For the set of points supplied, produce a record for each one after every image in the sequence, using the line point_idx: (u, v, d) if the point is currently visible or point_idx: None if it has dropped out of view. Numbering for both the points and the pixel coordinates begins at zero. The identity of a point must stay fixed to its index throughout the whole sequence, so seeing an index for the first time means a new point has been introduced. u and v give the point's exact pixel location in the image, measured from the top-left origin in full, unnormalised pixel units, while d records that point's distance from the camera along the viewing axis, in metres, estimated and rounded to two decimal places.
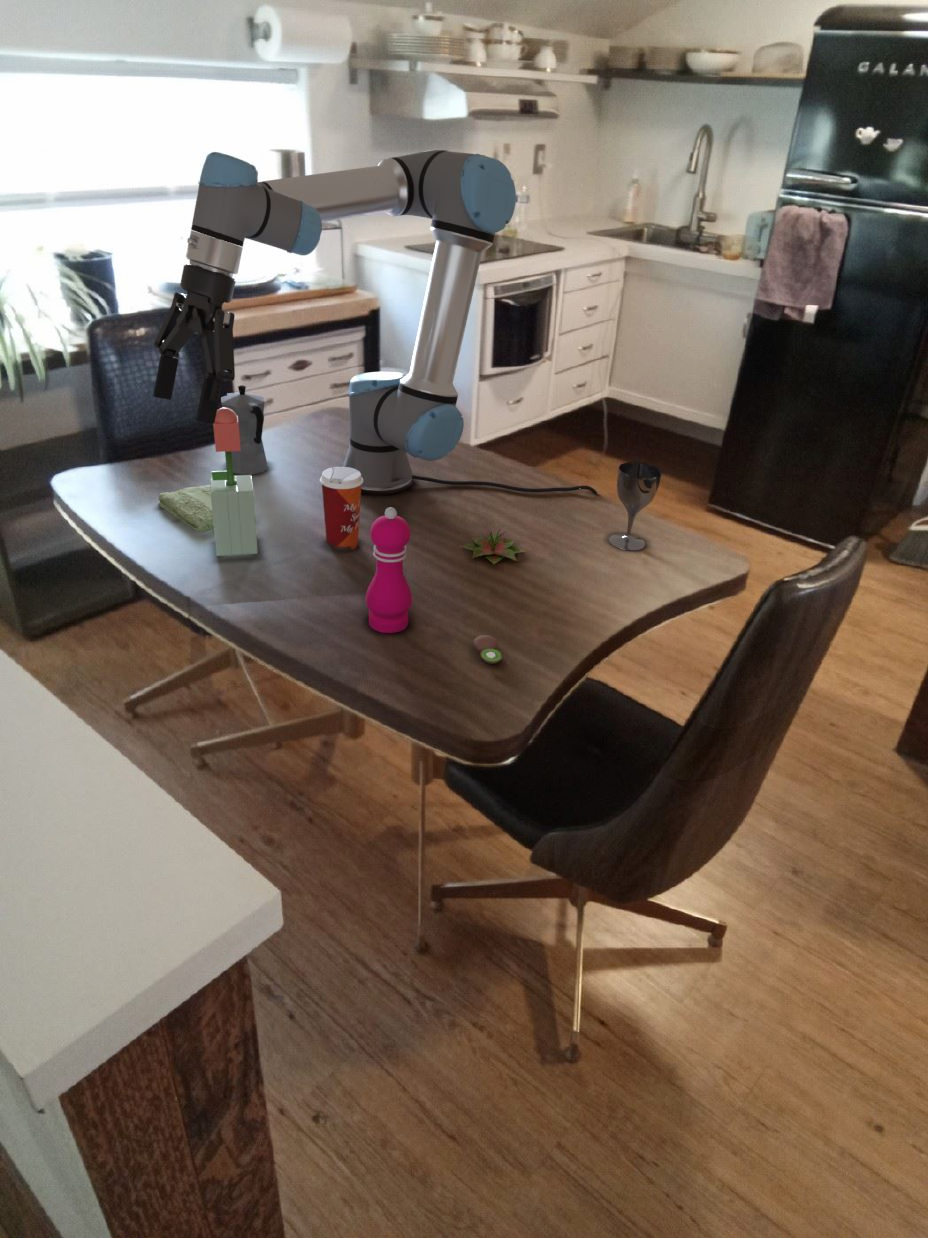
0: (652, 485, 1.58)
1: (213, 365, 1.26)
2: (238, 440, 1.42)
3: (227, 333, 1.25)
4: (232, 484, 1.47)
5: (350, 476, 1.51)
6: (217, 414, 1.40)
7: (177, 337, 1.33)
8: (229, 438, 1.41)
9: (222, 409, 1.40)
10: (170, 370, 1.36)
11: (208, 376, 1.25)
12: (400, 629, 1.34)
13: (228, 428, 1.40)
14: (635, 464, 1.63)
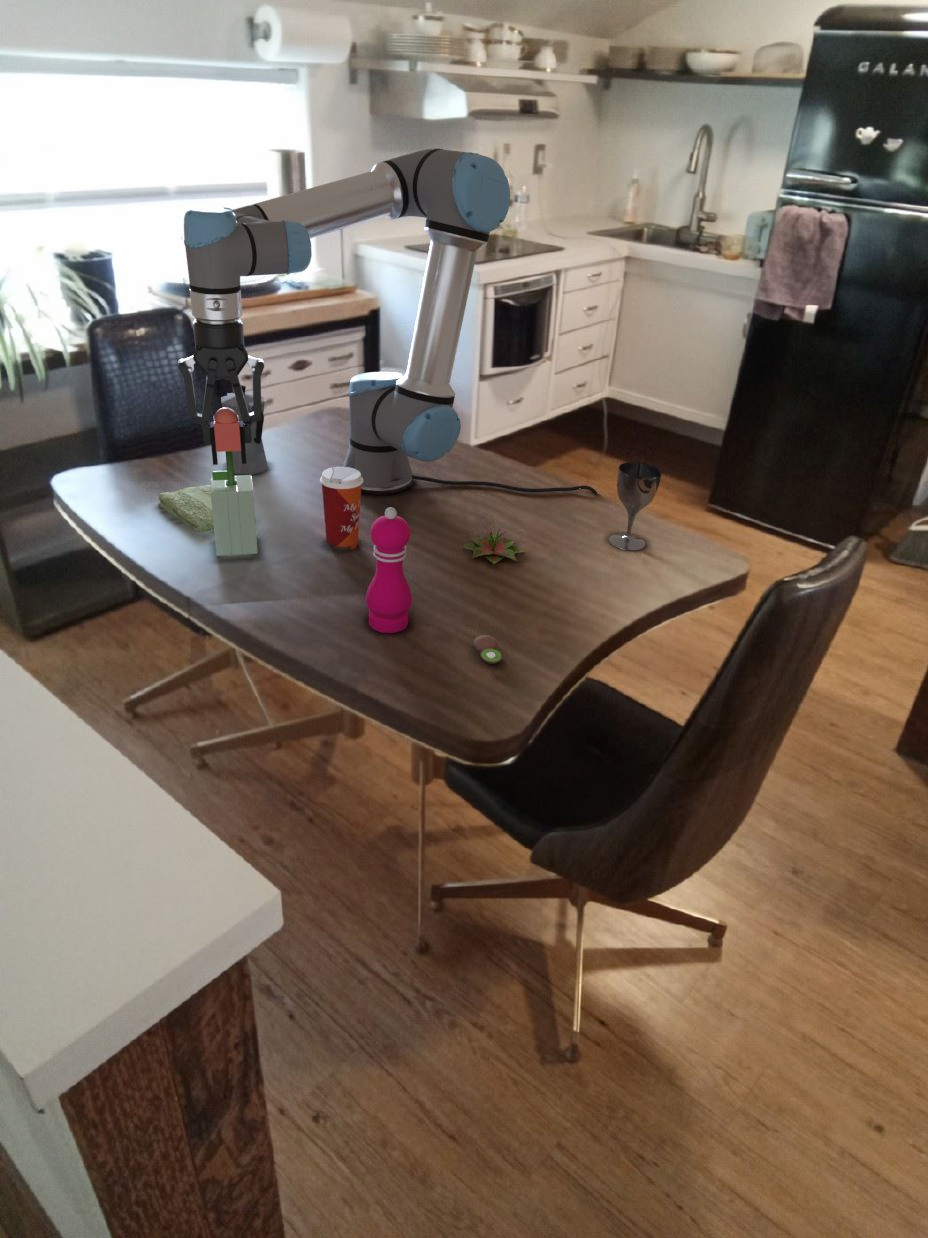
0: (652, 485, 1.58)
1: (248, 413, 1.41)
2: (239, 440, 1.42)
3: None
4: (232, 484, 1.47)
5: (350, 476, 1.51)
6: (218, 414, 1.40)
7: (212, 397, 1.38)
8: (230, 438, 1.41)
9: (223, 409, 1.40)
10: None
11: (249, 425, 1.41)
12: (400, 629, 1.34)
13: (229, 428, 1.40)
14: (635, 464, 1.63)
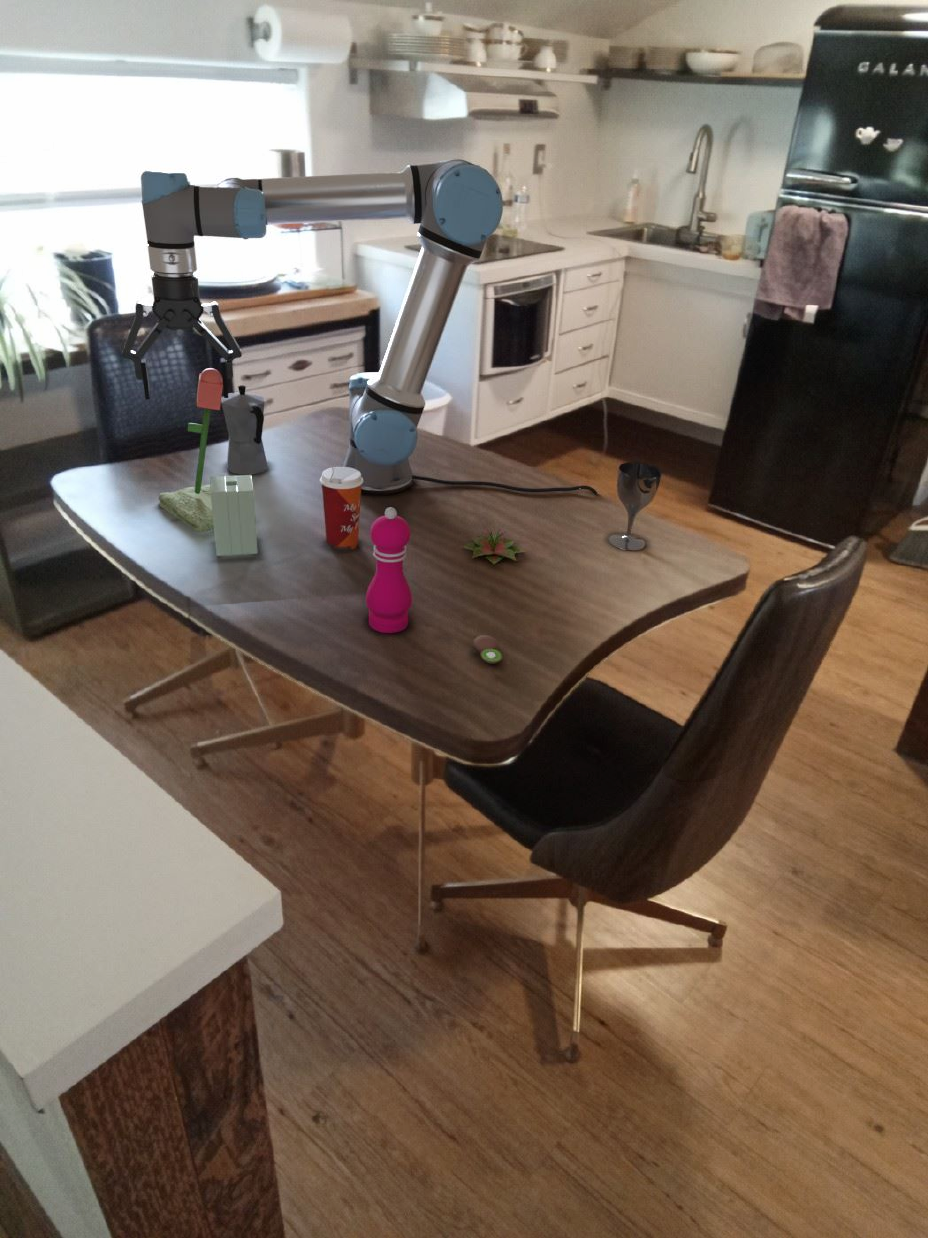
0: (652, 485, 1.58)
1: (225, 349, 1.53)
2: (219, 400, 1.54)
3: None
4: (205, 438, 1.59)
5: (350, 476, 1.51)
6: (205, 373, 1.52)
7: None
8: (211, 397, 1.54)
9: (210, 369, 1.52)
10: (147, 371, 1.52)
11: (231, 360, 1.53)
12: (400, 629, 1.34)
13: (212, 388, 1.53)
14: (635, 464, 1.63)
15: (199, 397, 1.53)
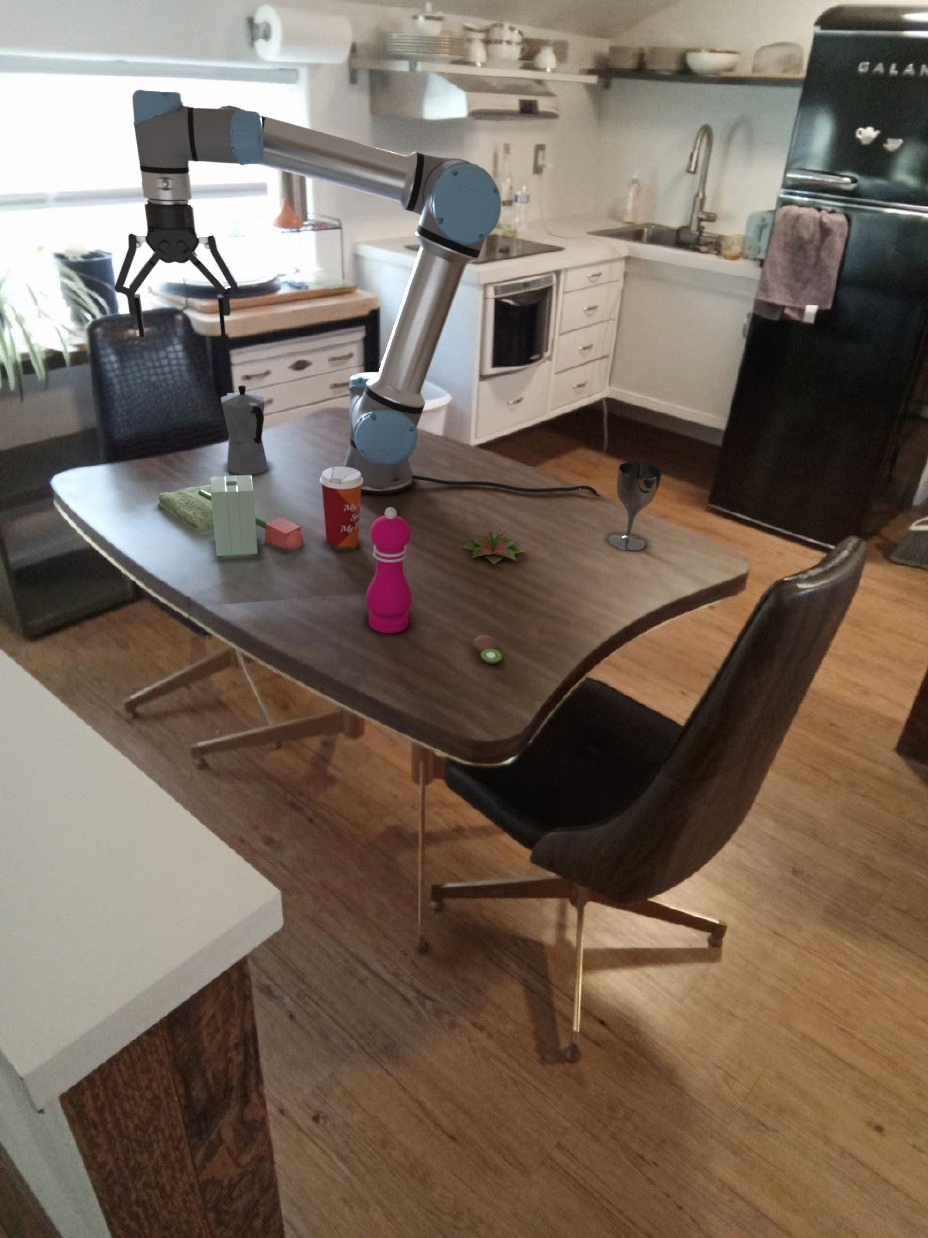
0: (652, 485, 1.58)
1: (222, 284, 1.47)
2: None
3: (219, 252, 1.46)
4: None
5: (350, 476, 1.51)
6: (292, 548, 1.54)
7: (148, 274, 1.44)
8: None
9: (299, 546, 1.54)
10: (141, 307, 1.47)
11: (228, 295, 1.47)
12: (400, 629, 1.34)
13: None
14: (635, 464, 1.63)
15: None
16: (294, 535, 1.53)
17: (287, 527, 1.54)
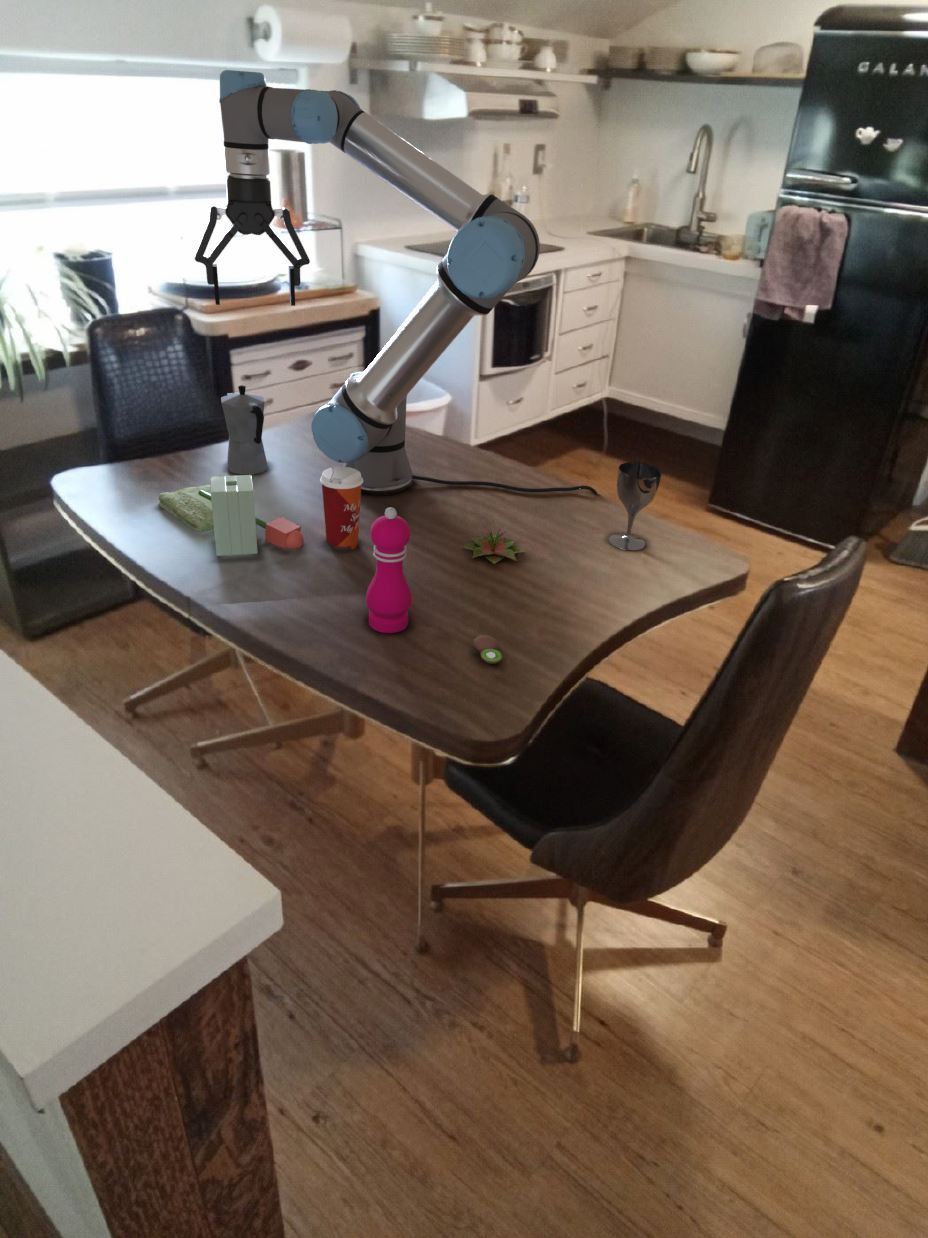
0: (652, 485, 1.58)
1: (294, 256, 1.56)
2: None
3: None
4: None
5: (350, 476, 1.51)
6: (292, 548, 1.54)
7: None
8: None
9: (299, 546, 1.54)
10: None
11: (300, 266, 1.56)
12: (400, 629, 1.34)
13: None
14: (635, 464, 1.63)
15: None
16: (294, 535, 1.53)
17: (287, 527, 1.54)
